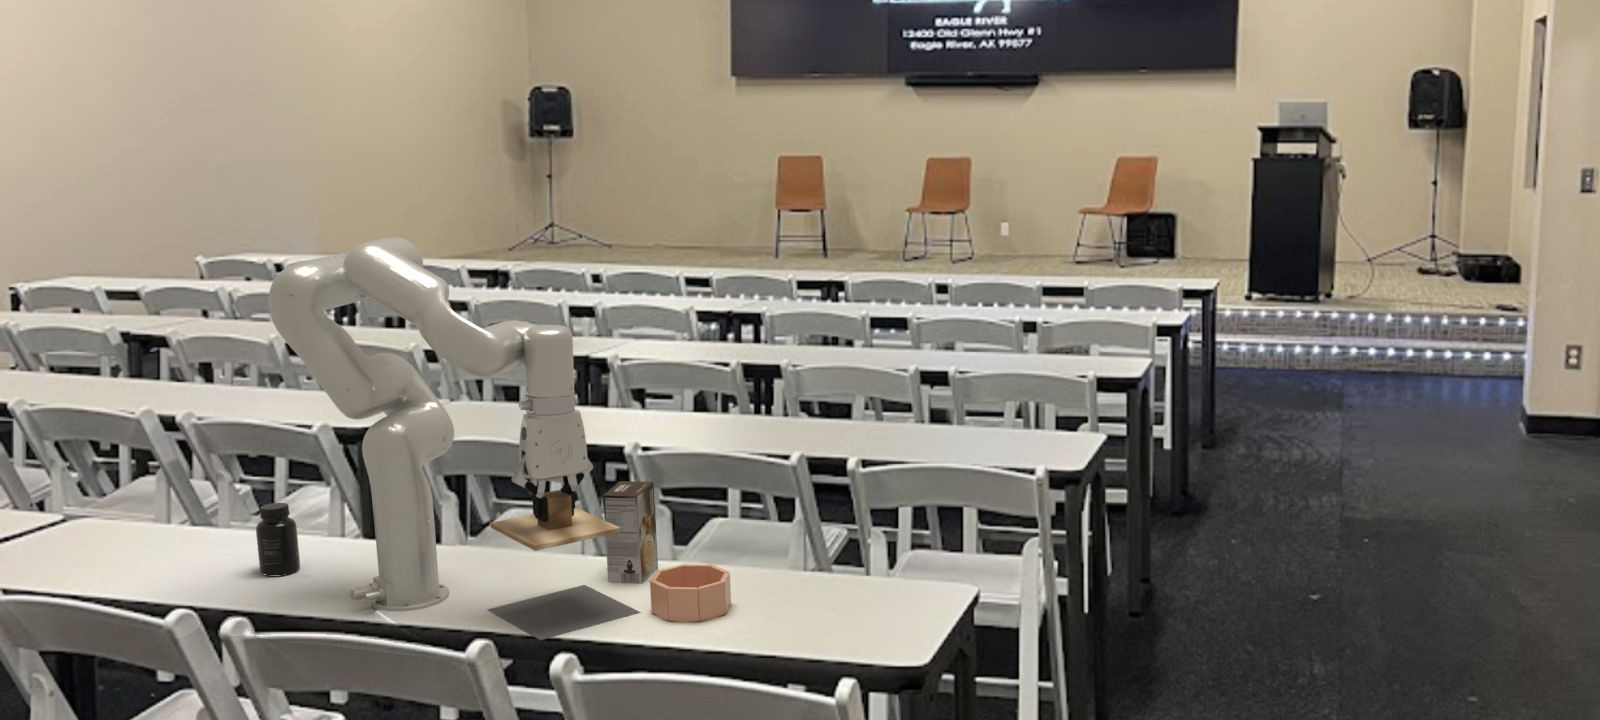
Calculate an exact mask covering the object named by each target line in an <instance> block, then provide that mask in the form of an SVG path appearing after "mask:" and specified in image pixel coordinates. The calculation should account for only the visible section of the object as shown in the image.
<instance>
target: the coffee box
mask: <svg viewBox="0 0 1600 720" xmlns="http://www.w3.org/2000/svg"><path fill="white" fill-rule="evenodd" d="M654 484H655V481H629V480H628V481H626V480H625V481H619V482H617V483H616V484H615V485H614V486H613V487H611V488H610V489H609V490H608V491H606V492H605V493H604V494H603V495H602V497H603V499H602V501H603V516H604V517H603V518H604V520H605V521H607V522H609V523H611V524H613V525H616V526H618V527H620V533H615V534H611V535H606V536H605V547H606V548H605V549H606V551H605V552H606V564H607V565H606V566H607V568H606V569H607V583H610V584H611V583H612V584H613V583H615V584H636V585H637V584H641V585H642V584H644V583H645V582H646V581H647V580H648V579H649V577H651V576H652V575H654V572H656V571H658V570H659V562H658V561H659V560H658V542H657V540H658V539H657V524H656V506H655V505H656V503H655V501H656V500H655V485H654Z"/></svg>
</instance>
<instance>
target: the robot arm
mask: <svg viewBox="0 0 1600 720" xmlns="http://www.w3.org/2000/svg"><path fill="white" fill-rule="evenodd" d="M269 288H270V289H269V292H268V310H269V315H270V317H271V321H272V323H273V325H274V327H275V329H276V331H277V332H278V334H279V335H280V336H281V338H282V339H283V340H284V341H285V342H286V344H288V346H289V347H290V348H291V350H292V351H293V352H294V353H295V354H296V355H297V356H298V357H299V358H300V360H301V361H302V362H303V363H304V365H305V366H306V368H307V369H308V370H309V373H310V374H311V375H312V376H313V377H314V379H315V381H317V383H318V384H319V385H320V387H321V388H322V390H323V391H324V392H325V393H326V395H327V396H328V397H329V399H330V400H331V401H332V403H333V404H334V406H336V408H337V409H338V411H340V413H342V415H344V417H346V418H348V419H351V420H365V419H368V418H370V417H374V416H376V415H379V414H382V413H384V415H386V416H385V417H382V418H381V419H379V420H377V421H376V422H374V423H373V424H372V425H371V426H370V427H369V428H368V429H367V431H366V432H365V434H364V436H363V440H362V444H361V445H362V446H361V452H362V453H361V454H362V457H363V462H364V466H365V468H366V471H367V475H368V481H369V485H370V492H371V499H372V512H373V521H374V531H375V533H374V534H375V547H376V554H377V555H376V557H377V568H378V569H377V570H378V575H376V576H373V577H372V580H373V582H371V583H368V585H367V586H364V587H363V586H360V587H356V588H351V590H350V591H349V593H350V597H351V600H352V601H354V602H355V601H357V600H363V599H364V600H365V602H369V601H370V603H371V606H372V608H373V609H377V610H378V609H379V610H382V611H388V612H389V611H390V612H407V611H408V612H409V611H416V610H420V609H421V610H422V609H426V608H427V609H428V608H430V607H434V606H437V605H438V604H441V603H443V602H444V601H446V600H447V599H448V598H449V597H450V588H448V587H447V585H444V584H441V583H440V582H439V581H440V580H439V578H440V577H439V566H438V554H437V541H436V527H435V514H434V513H435V512H434V503H433V502H434V501H433V494H432V490H431V485H430V482H429V479H428V478H427V476H426V474H425V472H424V468H423V466H424V465H425V464H426V463H428V462H431V461H433V460H435V459H437V458H439V457H441V456H443V455H444V454H446V452H448V451H449V449H450V448H451V446H452V445H453V442H454V439H455V427H454V423H453V420H452V418H451V416H450V414H449V413H448V411H447V410H446V408H445V407H444V405H442V403H441V402H440V399H438V398H437V396H436V395H435V394H434V393H433V391H432V390H431V388H430V387H429V386H428V384H427V383H426V382H425V380H424V379H423V378H422V376H421V375H420V373H419V372H418V371H417V370H416V368H414V366H413V365H412V364H411V363H410V362H409V361H407V360H406V359H404V358H403V357H401V356H400V355H397V354H394V353H390V352H380V353H376V354H373V355H370V356H369V355H367V354H366V353H365V352H364V351H363V350H362V349H361V348H360V347H359V345H358V344H357V343H356V342H355V340H354V339H353V338H352V336H351V334H350V333H349V332H348V331H346V329H344V327H342V326H341V325H340V324H338V323H337V322H336V321H335V320H332V319H331V318H329V317H328V316H327V315H326V314H325V311H327V310H331V309H335V308H338V307H343V306H347V305H351V304H354V303H357V302H360V301H363V300H367V299H369V300H372V301H373V302H376V303H377V304H379V305H380V306H382V307H384V308H385V309H387V310H389V311H390V312H392V313H393V314H396V315H397V316H399V317H401V318H402V319H404V320H406V321H408V322H409V323H411V324H413V326H415V327H416V328H417V329H418V331H419V335H420V336H421V337H422V339H424V341H425V342H426V344H427V345H428V346H429V347H430V348H431V350H432V351H434V353H435V354H436V355H438V356H439V357H441V358H442V359H443V360H445V361H447V362H449V363H451V364H452V365H454V366H455V367H458V368H459V369H461V370H463V371H465V372H467V373H468V374H470V375H473V376H476V377H480V378H493V377H495V376H498V375H501V374H503V373H506V372H509V371H512V370H515V369H518V368H521V367H524V378H525V379H524V382H525V383H524V384H525V385H524V386H525V395H524V400H523V401H519V402H518V408H519V410H520V411H525V413H523V415H522V418H521V419H522V420H521V423H520V424H521V425H520V432H519V445H518V463H519V464H518V465H517V467H516V469H515V471H514V473H513V475H512V477H511V482H512V483H514V484H516V485H517V486H520V487H522V488H524V489H525V490H526V491H527V492H528V493H529V494H530V495H532V496H531V497H532V513H533V514H534V515H535V518H536V519H538V520H540V521H543V522H546V521H547V520H548V512H547V497H545V496H544V493H545V489H546V482H547V480H553V479H557V478H561V481H562V487H561V488H560V489H559V490H560V491H562V492H564V493H566V494H569V495H571V503H572V516H574V509H575V507H576V492H577V491H578V489H579V485H580V484H581V482H582V481H583V479H584V478H585V477H586V476H587V475H588V474H590V472H591V471H592V470H593V469H594V465H593V463H592V462H591V460H590V459H589V457H588V447H587V440H586V439H587V438H586V432H585V428H584V427H585V426H584V422H583V417H582V413H581V411H580V410H579V409H576V402H575V401H576V400H575V398H576V397H575V375H574V373H575V369H574V344H573V343H574V341H573V340H574V339H573V334H572V333H573V332H572V331H571V330H570V328H569V327H567V326H564V325H559V324H541V325H539V324H536V323H531V322H530V323H529V322H525V321H521V320H515V319H514V320H513V319H512V320H506V321H501V322H499V323H494V324H492V325H489V326H486V327H483V328H482V327H481V326H478V325H477V324H475V323H473V322H471V321H469V320H468V319H466V318H465V317H462V316H461V315H460V314H459V313H457V312H456V311H454V310H453V309H452V308H451V307H450V306H449V304H448V302H449V301H448V300H449V297H450V287H449V284H448V283H447V281H446V280H445V279H444V278H442V277H441V276H438V275H437V274H435V273H433V272H431V271H430V270H427V269H426V268H424V260H423V256H422V254H421V252H420V250H419V249H418V247H416V245H415V244H414V243H413V242H411V241H409V240H407V239H405V238H401V237H397V236H396V237H395V236H393V237H392V236H391V237H386V238H380V239H375V240H369V241H365V242H363V243H361V244H360V243H359V244H358V245H357V246H356V245H355V247H353V248H352V249H351V250H348V251H346V252H341V253H338V254H333V255H329V256H323V257H319V258H313V259H309V260H308V259H307V260H303V261H299V262H296V263H294V264H292V265H289V266H287V267H285V268H283V270H281V271H280V272H278V273H277V275H276V276H275V278H274V279H273V282H272V283H271V285H270V287H269ZM526 476H529V478H530V480H527V478H525V477H526Z"/></svg>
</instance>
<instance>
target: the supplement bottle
mask: <svg viewBox="0 0 1600 720" xmlns="http://www.w3.org/2000/svg"><path fill="white" fill-rule="evenodd" d="M289 509H290V506H289V504H288V503H286V502H272V503H267V504H264V505H261V506H260V507H259V518H260V519H261V521H259V522H258V523H257V525H256V528H255V533H256V542H257V543H256V544H257V553H258V565H259V571H260V573H261V575H263V574H266V575H283V576H285V575H284V574H288V575H290V574H289V573H291V574H293V573H292V572H294V573H296V572H298V571H299V570H300V568H301V560H300V559H301V558H300V548H299V538H298V530H297V523H296V521H295V520H294V519H293V518H291V517H289V516H290V513H291V512H290V510H289ZM298 569H299V570H298ZM297 570H298V571H297ZM295 571H296V572H295Z"/></svg>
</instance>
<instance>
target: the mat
mask: <svg viewBox="0 0 1600 720" xmlns="http://www.w3.org/2000/svg"><path fill="white" fill-rule="evenodd" d="M486 611H488V612H490V613H492V614H493V615H495V616H497V617H499V618H500V619H502V620H504V621H506V622H507V623H510V624H511V625H513V626H515V627H516V628H518V629H520V630H521V631H523V632H525V633H526V634H528V635H530V636H532V637H533V638H535V639H537V640H538V641H542V640H546V639H550V638H553V637H557V636H560V635H561V636H562V635H564V634H569V633H572V632H576V631H579V630H582V629H583V630H584V629H586V628H590V627H594V626H597V625H602V624H605V623H608V622H612V621H616V620H618V619H619V620H620V619H624V618H626V617H630V616H634V615H638V614H641V613H642V612H641V611H639V610H637V609H635V608H633V607H631V606H629V605H628V604H625V603H623V602H621V601H618V600H616V599H614V598H613V597H610V596H608V595H606V594H604V593H602V592H601V591H598V590H596V589H594V588H592V587H591V586H588V585H586V584H582V585H579V586H574V587H571V588H570V587H569V588H567V589H566V588H565V589H563V590H559V591H555V592H551V593H546V594H542V595H539V596H535V597H531V598H526V599H523V600H520V601H519V600H518V601H515V602H512V603H507V604H503V605H500V606H495V607H492V608H489V609H488V608H487V609H486Z"/></svg>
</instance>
